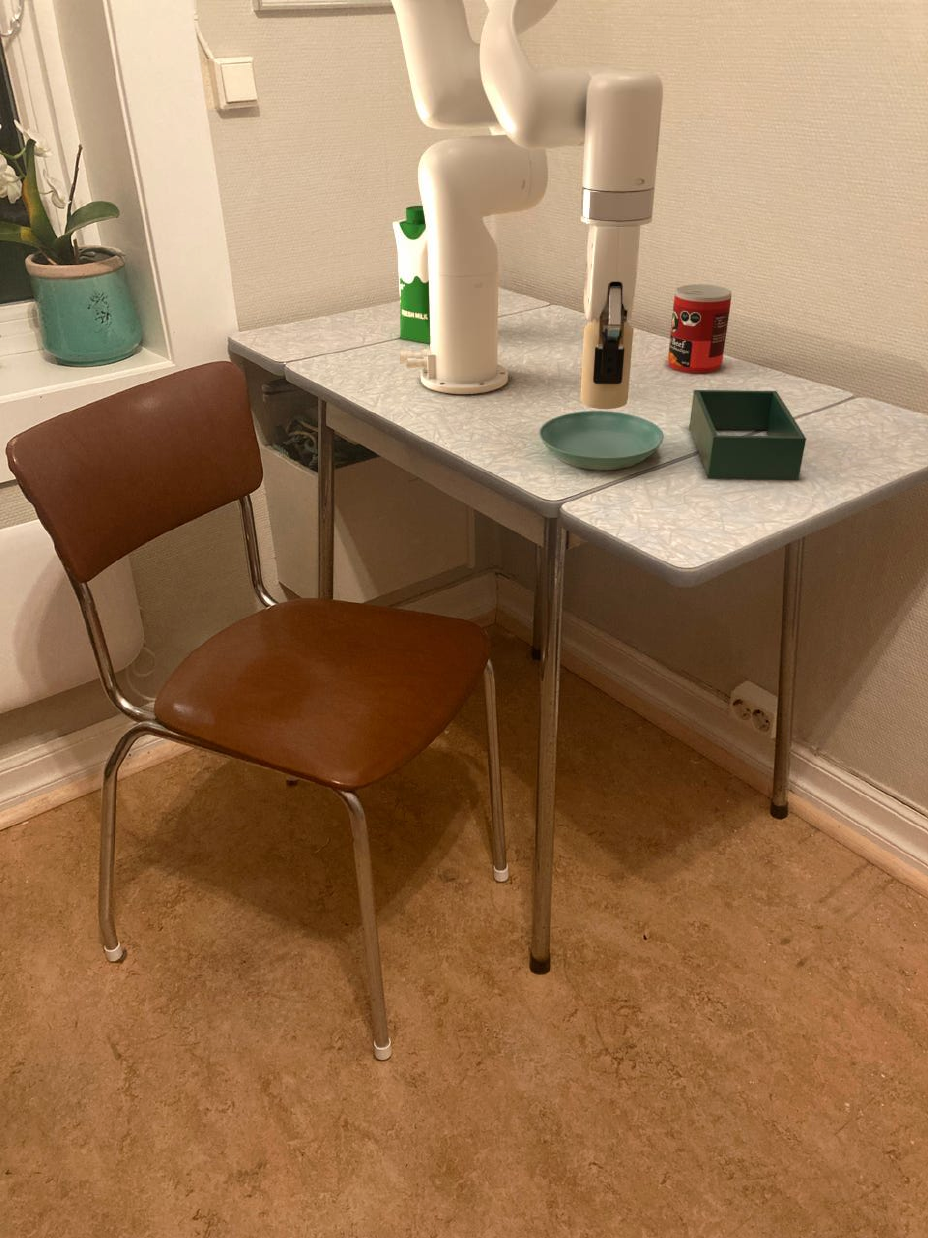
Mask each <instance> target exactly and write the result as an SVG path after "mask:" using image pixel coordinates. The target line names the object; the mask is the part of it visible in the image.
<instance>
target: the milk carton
mask: <svg viewBox="0 0 928 1238" xmlns="http://www.w3.org/2000/svg"><path fill="white" fill-rule="evenodd" d="M392 227H393V231H394V237H395V242H396V247H397V261H398V263H397V264H398V283H399V284H398V286H399V308H400V309H399V318H400V319H399V321H400V322H399V323H400V324H399V325H400V326H399V327H400V331H399V332H400V337H399V339H403V340H407V341H412V342H419V343H422V344H423V343H424V344H429V345H430V344H431V333H430V297H429V269H428V244H427V231H426V222H425V215H424V210H423V205H412V206H407V207H405V218H403V219H400V220H395V221H393V222H392Z"/></svg>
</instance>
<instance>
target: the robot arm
mask: <svg viewBox="0 0 928 1238" xmlns="http://www.w3.org/2000/svg"><path fill="white" fill-rule="evenodd" d="M390 1H391V5H392V7H393V10H394V13H395V15H396V19H397V24H398V27H399V32H400V38H401V43H402V49H403V53H404V58H405V63H406V69H407V74H408V78H409V81H410V82H409V84H410V88H411V92H412V97H413V98H412V99H413V101H414V105H415V110H416V113H417V114H418V117H419V119H420V120H421V122H422V123H423V124H424V125H425V126H426V127H428V128H431V129H435V130H463V129H478V128H480V129H481V128H489V131H490V133H491V135H484V134H483V135H471V136H458V137H451V138H446V139H443V140H440V141H437V142H435V143H433V144H432V145H430V147H427V149H426V150H425V151H424V152H423V154H422V156H421V158H420V160H419V163H418V168H417V181H418V182H417V183H418V189H419V194H420V199H421V204H422V206H423V210H424V215H425V222H426V231H427V244H428V269H429V297H430V333H431V344H429V347H428V348H423V349H422V351H414V350H401V351H400V355H399V356H400V358H399V359H400V360H399V361H400V365H406V368H407V369H422V370H421V372H420V382H421V384H422V385H423V386H424V387H426V388H428V389H430V390H432V391H435V392H439V393H444V394H450V395H451V394H452V395H473V394H483V393H488V392H491V391H495V390H498V389H500V388H502V387H503V386H505V385H506V384H507V383H508V381H509V371H508V369H506V368H505V367H503V366H502V365H500V364H498V360H499V359H498V354H499V352H498V346H499V345H498V344H499V340H498V339H499V337H498V336H499V330H498V329H499V251H498V247H497V244H496V242H495V240H494V238H493V236H492V234H491V233H490V231H489V229H488V228H487V227H486V225H485V222H484V219H483V218H484V217H488V216H489V217H490V216H493V215H502V214H509V213H510V214H511V213H518V212H523V211H528V210H531V209H533V208H535V207H536V206H538V205H539V204H540V202H541V201H543V199H544V197H545V194H546V191H547V188H548V182H549V165H548V156H547V150H546V149H555V148H564V147H565V148H566V147H583V161H582V181H581V182H582V183H581V184H582V185H581V202H580V203H581V204H580V221H581V222H582V223H584V224H587V225H589V227H588V236H587V247H586V259H585V260H586V261H585V274H584V275H585V277H584V292H583V310H584V316H585V318H586V320H587V321H588V323H589V322H592V321H593V319H599V321H598V347H595V356H594V373H593V382H594V383H595V384H620V383H621V382H622V375H623V362H624V347H623V343H624V323H625V322H629V321H630V320H631V319H632V316H633V310H634V302H635V294H636V284H637V275H638V263H639V250H640V238H641V237H640V235H641V226H644V225H648V224H650V223H652V222H653V213H654V200H655V188H656V178H657V177H656V175H657V168H658V167H657V166H658V156H659V142H660V131H661V122H662V111H663V109H662V108H663V96H664V95H663V94H664V85H663V81H662V79H661V77H660V76H659V75H658V74H657V73H655V72H652V71H647V70H620V69H618V68H615V67H611V66H608V65H565V66H563V65H562V66H546V67H545V66H543V67H534V66H533V64H532V63H531V61H530V60H529V58H528V55H527V54H526V51H525V49H524V47H523V45H522V43H521V40H520V37H519V36H520V35H522V34H523V33H524V32H526V31H528V30H530V29H531V28H532V27H534V26H536V25H537V24H539V22H541V21H542V19H544V18H545V17H546V16H547V15H548V14H549V13H550V12H551V11H552V9H553V8H554V7H555V5H556V4H557V2H558V0H484V2H485V4H486V6H487V8H488V14H487V16H486V18H485V20H484V21H485V22H484V25H483V28H482V32H481V36H480V37H481V38H480V43H478V42H475V41H474V40H473V38H472V35H471V34H470V30H469V25H468V21H467V14H466V13H467V12H466V8H465V4H464V0H390ZM603 314H608V319H603ZM604 326H608V329H605V330H604Z"/></svg>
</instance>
